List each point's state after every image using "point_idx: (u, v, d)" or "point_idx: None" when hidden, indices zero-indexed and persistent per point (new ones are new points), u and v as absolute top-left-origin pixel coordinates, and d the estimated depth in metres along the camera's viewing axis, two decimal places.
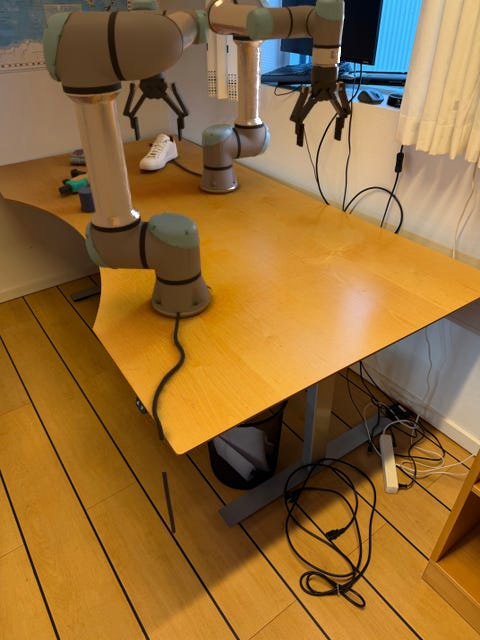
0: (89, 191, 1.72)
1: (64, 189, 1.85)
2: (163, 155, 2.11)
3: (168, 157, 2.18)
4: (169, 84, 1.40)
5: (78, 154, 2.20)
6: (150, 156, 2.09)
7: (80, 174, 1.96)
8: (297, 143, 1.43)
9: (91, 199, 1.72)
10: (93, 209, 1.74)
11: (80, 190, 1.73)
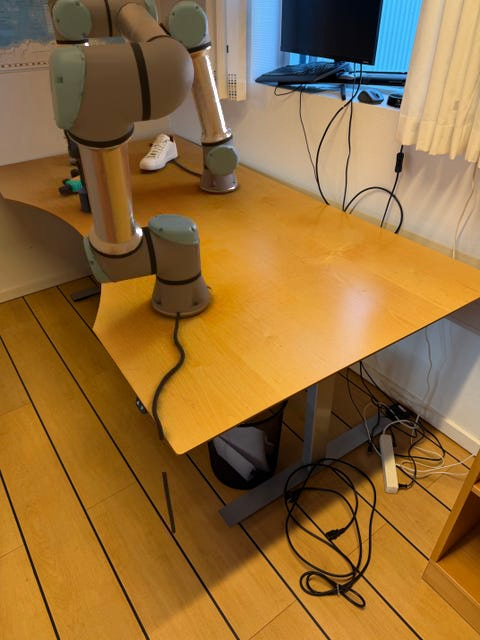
0: None
1: (64, 189, 1.85)
2: (163, 155, 2.11)
3: (168, 157, 2.18)
4: None
5: None
6: (150, 156, 2.09)
7: None
8: None
9: None
10: None
11: (80, 190, 1.73)
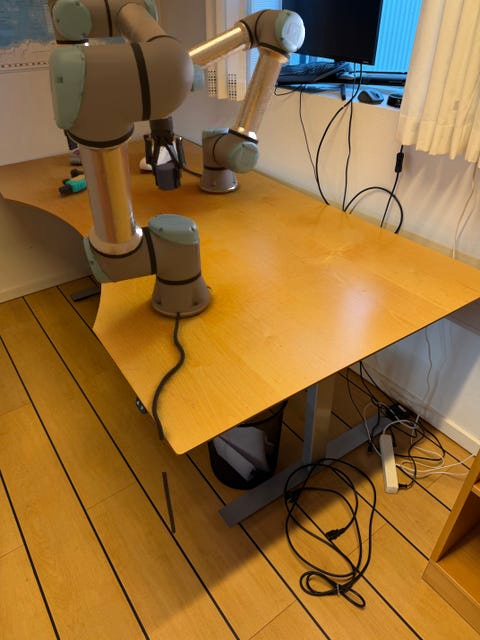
0: (171, 166, 1.61)
1: (64, 189, 1.85)
2: (163, 155, 2.11)
3: (168, 157, 2.18)
4: None
5: (78, 154, 2.20)
6: None
7: (80, 174, 1.96)
8: None
9: None
10: None
11: (161, 168, 1.60)
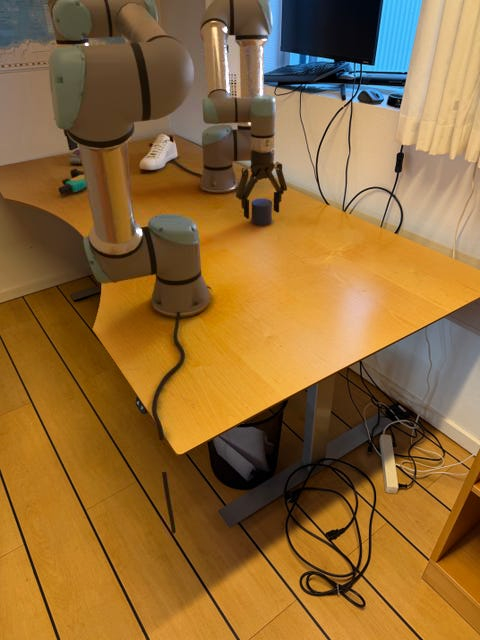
0: (266, 200, 1.62)
1: (64, 189, 1.85)
2: (163, 155, 2.11)
3: (168, 157, 2.18)
4: None
5: (78, 154, 2.20)
6: (150, 156, 2.09)
7: (80, 174, 1.96)
8: (244, 215, 1.62)
9: None
10: None
11: (264, 204, 1.60)
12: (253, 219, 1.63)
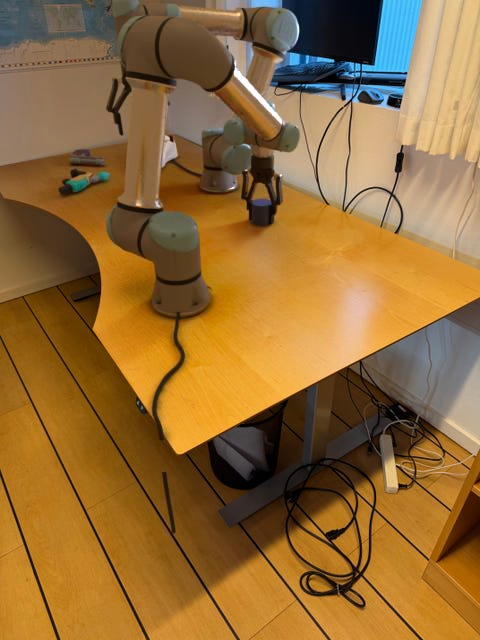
0: (266, 200, 1.62)
1: (64, 189, 1.85)
2: (163, 155, 2.11)
3: (168, 157, 2.18)
4: (275, 175, 1.54)
5: (78, 154, 2.20)
6: None
7: (80, 174, 1.96)
8: (119, 132, 1.54)
9: None
10: None
11: (264, 204, 1.60)
12: (253, 219, 1.63)
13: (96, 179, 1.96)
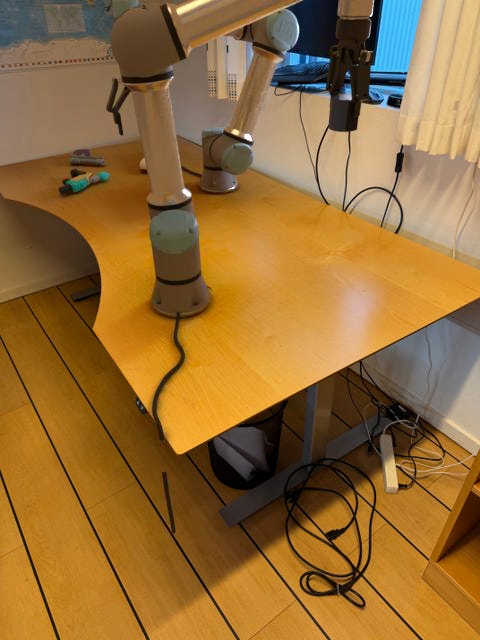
0: None
1: (64, 189, 1.85)
2: None
3: None
4: (362, 51, 1.05)
5: (78, 154, 2.20)
6: None
7: (80, 174, 1.96)
8: (119, 132, 1.54)
9: None
10: None
11: (343, 99, 1.13)
12: (329, 120, 1.18)
13: (96, 179, 1.96)
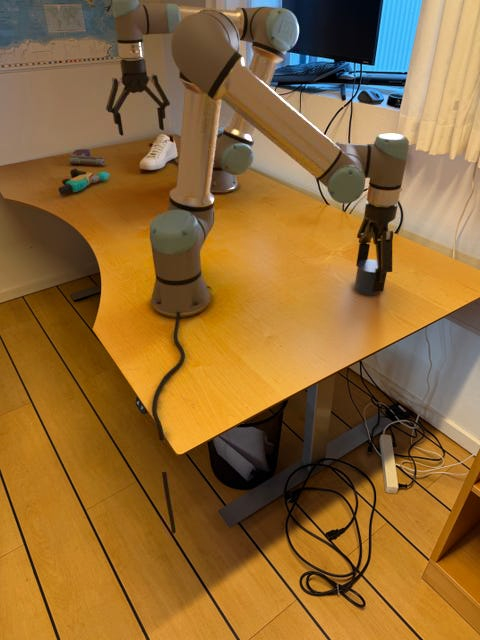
0: None
1: (64, 189, 1.85)
2: (163, 155, 2.11)
3: (168, 157, 2.18)
4: (384, 231, 1.14)
5: (78, 154, 2.20)
6: (150, 156, 2.09)
7: (80, 174, 1.96)
8: (119, 132, 1.54)
9: None
10: None
11: (366, 269, 1.24)
12: (355, 280, 1.30)
13: (96, 179, 1.96)
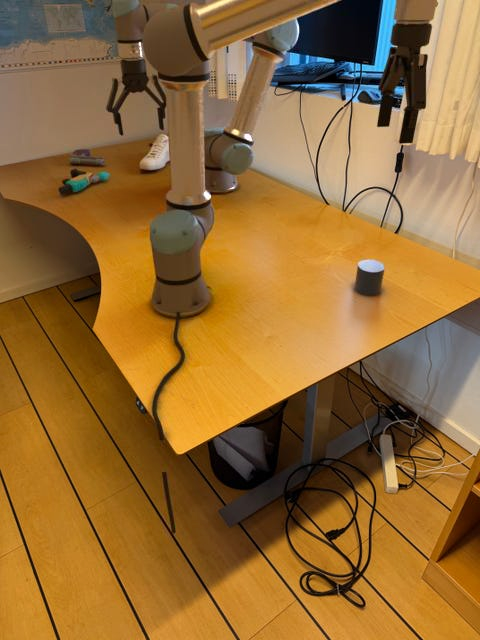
0: (379, 267, 1.25)
1: (64, 189, 1.85)
2: (163, 155, 2.11)
3: (168, 157, 2.18)
4: None
5: (78, 154, 2.20)
6: (150, 156, 2.09)
7: (80, 174, 1.96)
8: (119, 132, 1.54)
9: (382, 276, 1.26)
10: (380, 289, 1.28)
11: (366, 269, 1.24)
12: (355, 280, 1.30)
13: (96, 179, 1.96)
